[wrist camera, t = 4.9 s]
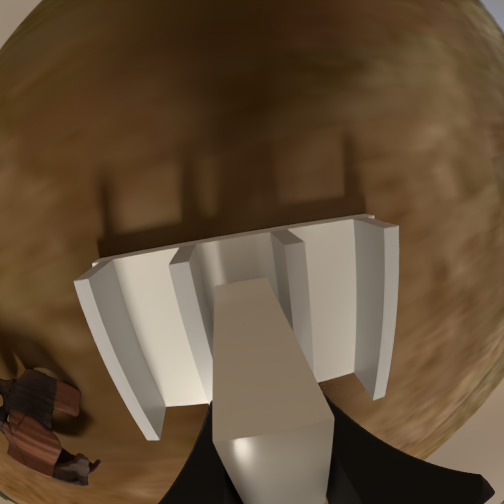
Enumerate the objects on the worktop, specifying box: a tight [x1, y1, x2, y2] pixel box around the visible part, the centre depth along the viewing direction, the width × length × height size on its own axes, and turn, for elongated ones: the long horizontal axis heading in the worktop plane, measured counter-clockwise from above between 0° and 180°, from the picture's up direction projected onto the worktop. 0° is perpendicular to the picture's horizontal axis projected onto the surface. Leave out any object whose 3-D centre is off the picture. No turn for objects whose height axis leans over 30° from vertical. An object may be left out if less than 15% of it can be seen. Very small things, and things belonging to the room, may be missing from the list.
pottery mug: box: [0, 369, 101, 486], centre depth 13 cm, size 12×10×8 cm
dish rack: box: [74, 214, 399, 440], centre depth 13 cm, size 10×15×4 cm, turn 98°
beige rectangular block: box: [212, 277, 334, 504], centre depth 9 cm, size 7×2×8 cm, turn 8°
